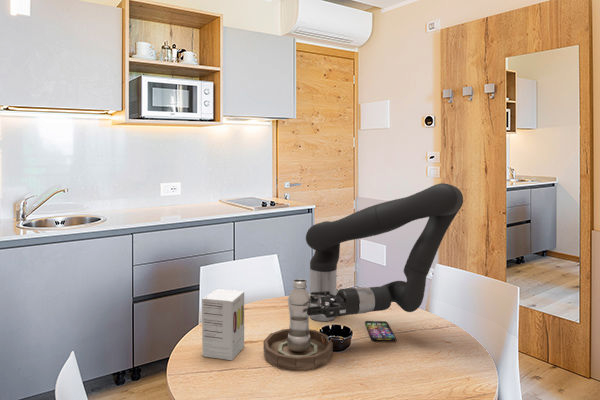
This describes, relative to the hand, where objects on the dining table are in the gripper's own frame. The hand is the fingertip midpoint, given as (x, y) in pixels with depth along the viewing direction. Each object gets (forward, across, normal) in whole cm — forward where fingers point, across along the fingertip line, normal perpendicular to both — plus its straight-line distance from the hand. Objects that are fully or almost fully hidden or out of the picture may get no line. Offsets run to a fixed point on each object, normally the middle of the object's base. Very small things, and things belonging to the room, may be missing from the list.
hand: (302, 305), depth 121 cm
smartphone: (-28, -7, +14) cm, 33 cm away
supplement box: (+21, -7, +14) cm, 27 cm away
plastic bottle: (+1, 0, +13) cm, 13 cm away
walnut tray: (+1, 0, +14) cm, 14 cm away
